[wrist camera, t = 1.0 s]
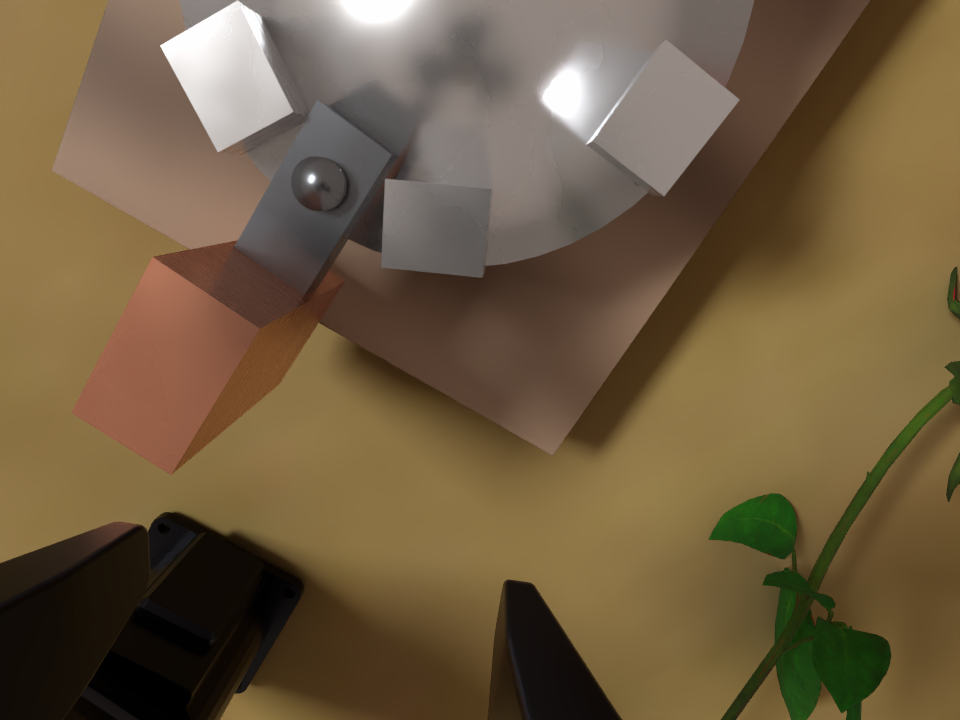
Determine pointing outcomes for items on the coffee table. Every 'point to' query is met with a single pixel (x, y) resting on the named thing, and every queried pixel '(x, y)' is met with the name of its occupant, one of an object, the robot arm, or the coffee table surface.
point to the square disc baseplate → (434, 296)
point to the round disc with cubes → (398, 169)
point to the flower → (798, 642)
